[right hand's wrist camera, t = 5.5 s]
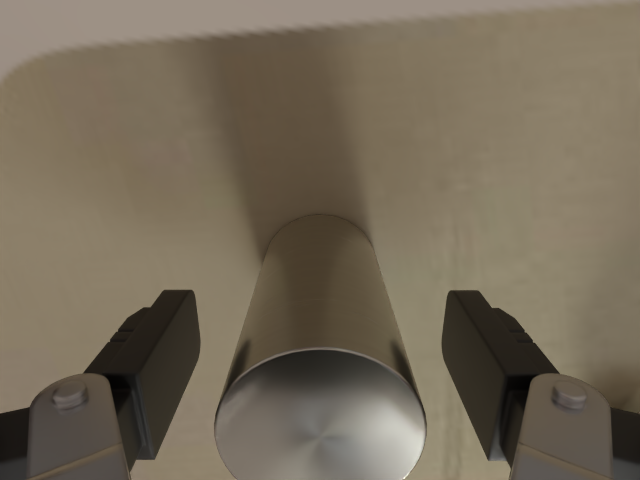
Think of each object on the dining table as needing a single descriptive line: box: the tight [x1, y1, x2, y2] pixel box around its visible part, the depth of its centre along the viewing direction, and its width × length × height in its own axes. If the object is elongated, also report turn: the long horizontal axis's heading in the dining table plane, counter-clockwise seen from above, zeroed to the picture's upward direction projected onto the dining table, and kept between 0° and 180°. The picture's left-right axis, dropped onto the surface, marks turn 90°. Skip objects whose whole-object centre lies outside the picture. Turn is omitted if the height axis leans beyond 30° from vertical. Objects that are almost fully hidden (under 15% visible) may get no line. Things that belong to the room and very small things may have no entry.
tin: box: [214, 215, 427, 480], centre depth 11 cm, size 4×4×8 cm
